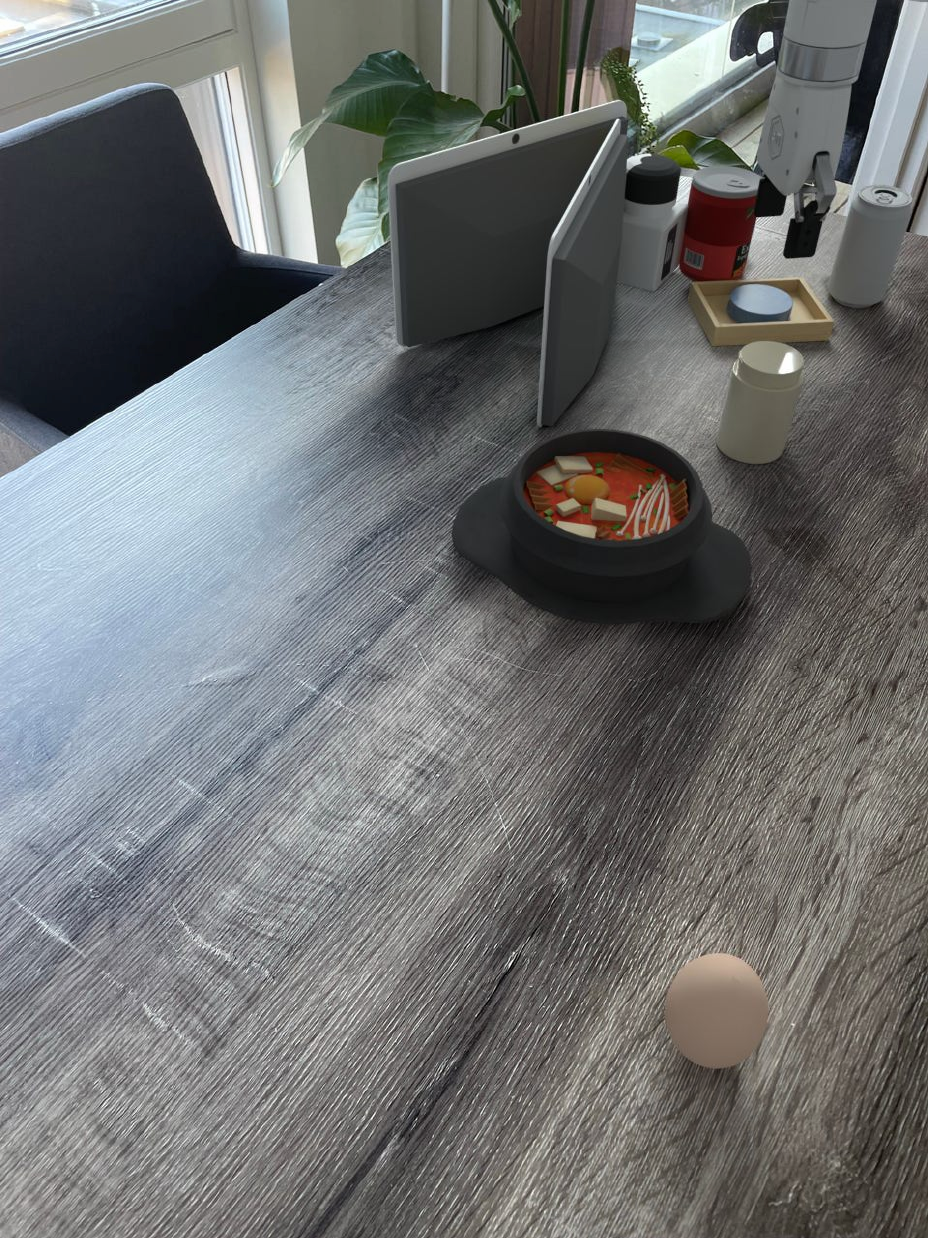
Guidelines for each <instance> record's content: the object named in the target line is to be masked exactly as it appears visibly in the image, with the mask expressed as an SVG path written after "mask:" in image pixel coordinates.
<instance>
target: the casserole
mask: <svg viewBox="0 0 928 1238" xmlns="http://www.w3.org/2000/svg"><path fill="white" fill-rule="evenodd" d="M703 487H704V486H703V482H702V479H701V478H700V475H699V473H698V471H697V470H696V469H695V468H694V467H693V465H692V464H691V463H690V461H689V460H687V458H685V457H684V456H683V455H682V454H681V453H680V452H678V451H677V450H675V449H674V448H671V447H670V446H669V445H667V444H665V443H664V442H661V441H658V440H656V439H653V438H651V437H649V436H646V435H642V434H639V433H636V432H631V431H626V430H620V429H614V428H613V429H612V428H584V429H583V428H582V429H576V430H570V431H565V432H562V433H558V434H556V435H553V436H550V437H547V438H545V439H544V440H542V441H540V442H537V443H535V444H534V446H532V447H531V448H529V449H528V450H527V451H526V452H525V453H524V454H523V455H522V456H521V458H520V459H519V460H518V461H517V464H516V465H515V466H514V467H513V468H512V469H511V471H510V472H509V473H508V474H507V476H502V477H497V478H495V479H493V480H492V481H489V482H487V483H486V484H483V485H482V486H480V487H479V488H477V489H476V490H475V491H474V492H473V493H471V494H470V495H469V496H468V497H467V498H466V499H465V501H464V502H463V503H462V504H461V505H460V507H459V508H458V510H457V512H456V515H455V516H454V519H453V522H452V529H451V538H452V545H453V548H454V549H455V551H456V552H457V553H458V554H459V556H460V557H461V558H462V559H464V560H465V561H467V562H469V563H470V564H472V565H473V566H474V567H477V568H479V569H481V570H483V571H484V572H486V573H488V574H490V575H492V576H494V577H495V578H496V579H498V581H500V582H501V583H503V585H505V587H507V588H508V589H510V590H511V591H512V592H513V593H514V594H516V595H517V596H518V597H520V598H521V600H523V601H524V602H526V603H528V604H530V605H532V606H534V607H536V608H537V609H540V611H542V612H546V613H547V614H551V615H554V616H556V617H559V618H562V619H564V620H570V621H574V622H579V623H583V624H590V625H605V626H616V625H629V624H630V625H631V624H642V623H654V622H667V623H669V622H670V623H688V624H689V623H690V624H707V623H710V622H715V621H718V620H721V619H722V618H723V617H725V616H727V615H728V614H730V613H731V612H732V611H733V610H735V609H736V607H737V606H739V603H740V602H741V601H742V600H743V599H744V597H745V595H746V593H747V591H748V589H749V586H750V585H751V578H752V570H753V569H752V561H751V557H750V553H749V550H748V548H747V547H746V546H747V545H746V544H745V542H744V541H743V540H742V539H741V538H740V536H739V535H738V534H736V533H735V532H733V530H731V529H728V528H727V527H725V526H722V525H721V524H718V523H716V522H714V521H713V509H712V504H711V501H710V499H709V497H708V494H707V492H706V490H705V488H703Z"/></svg>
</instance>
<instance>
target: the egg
mask: <svg viewBox="0 0 928 1238" xmlns="http://www.w3.org/2000/svg"><path fill="white" fill-rule="evenodd" d="M768 1019H769V1002H768V997H767V993H766V990H765V988H764V985H763V982H762V980H761V979H760V976H759V975H758V973H756V971H755V970H754V969H753V968H752V967H751V965H750V964H748V963H747V962H746V961H744V960H743V959H741V958H739V957H737V956H734V955H732V954H730V953H723V952H722V953H721V952H713V953H708V954H705V955H701V956H698V957H696V958H694V959H693V960H691V961H689V962H688V963H686V964H685V965H684V966H683V967H682V968H681V969H680V970H679V971H678V972H677V973H676V975H675V977H674V978H673V980H672V982H671V983H670V986H669V988H668V991H667V993H666V997H665V1002H664V1021H665V1026H666V1029H667V1032H668V1034H669V1037H670V1040H671V1041H672V1043H673V1045H674V1047H675V1048H676V1049H677V1050H678V1051H679V1052H680V1054H681V1055H682V1056H683V1057H685V1058H686V1059H687V1060H688V1061H690V1062H692V1063H693V1064H696V1065H698V1066H700V1067H703V1068H708V1069H713V1070H714V1069H715V1070H717V1069H719V1070H720V1069H726V1068H732V1067H734V1066H737V1065H739V1064H740V1063H742V1062H744V1061H745V1060H747V1059H748V1058H749V1057H750V1056H751V1055H752V1054H753V1053H754V1052H755V1051H756V1050H757V1048H758V1047H759V1045H760V1043H761V1042H762V1040H763V1038H764V1035H765V1033H766V1029H767V1025H768Z"/></svg>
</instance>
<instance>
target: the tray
mask: <svg viewBox="0 0 928 1238" xmlns="http://www.w3.org/2000/svg"><path fill="white" fill-rule="evenodd" d="M749 284H761V285H768V286H772V287H775V288H778V289H780V290H782V291H784V292H786V293H787V294H788V295H789V296H790V297H791V298H792V300H793V307H792V311H791V315H790V317H789V320H788V321H780V322H760V323H737V322H735V321H734V320H732V319H731V318H730V317H729V315H728V313H727V311H726V309H727V305H728V300H729V298H730V294H731V292H732V291H733V290H734V289H735V288H737V287H740V286H743V285H749ZM689 285H690V286H689V291H688V295H687V302H688V305H689V306H690V308H691V310H692V311H693V314H694V316H695V317H696V319H697V321H698V323H699V325H700V327H701V329H702V330H703V332H704V334H705V336H706V338H707V339H708V341H709V343H710V345H711V347H725V346H728V347H729V346H746V345H748V344H750V343H753V342H758V341H773V342H779V343H783V344H786V343H787V344H788V343H806V342H807V343H808V342H824V341H825V342H826V341H830V338H831V334H832V331H833V328H834V325H835V320H834V319H833V318H832V316H831V315H830V313H829V312H828V310H827V309H826V308H825V306H824V305H823V304H822V302H821V300H819V298H818V297H817V295H816V294H815V292H814V291H813V290H812V288H811V287H810V286H809V284H808V283H807V281H806V280H805V279H804V277H803V276H795V277H775V278H773V277H772V278H752V279H751V278H750V279H749V278H748V279H738V280H726V281H704V282H697V281H690V284H689Z"/></svg>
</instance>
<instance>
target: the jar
mask: <svg viewBox="0 0 928 1238" xmlns="http://www.w3.org/2000/svg"><path fill="white" fill-rule="evenodd" d="M737 355H738V359H736V360H735V361H734V363H733V364H732V367H731V372H730V375H729V381H728V385H727V389H726V392H725V393H726V394H725V398H724V402H723V406H722V412H721V415H720V420H719V424H718V429H717V433H716V438H715V442H716V446H717V447H718V449H719V450H720V452H721V453H723V455H725V456H726V457H728V458H730V459H732V460H734V461H736V462H739V463H743V464H748V465H763V464H770V463H772V462H774V461H776V460H778V459H779V458H780V457H781V456H782V455H783V453H784V450H785V446H786V443H787V441H788V436H789V434H790V429H791V427H792V421H793V419H794V417H795V412H796V408H797V405H798V402H799V399H800V395H801V392H802V388H803V385H804V381H805V374H804V373H805V372H804V368H805V367H804V364H805V359H804V356H803V355H802V353H801V352H800V351H798V350H797V349H796V348H794V347H792V346H790V345H788V344H786V343H779V342H773V341H758V342H753V343H750V344H747V345H743V347H742V348H741V349H740V350H739V352H738V354H737Z"/></svg>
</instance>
